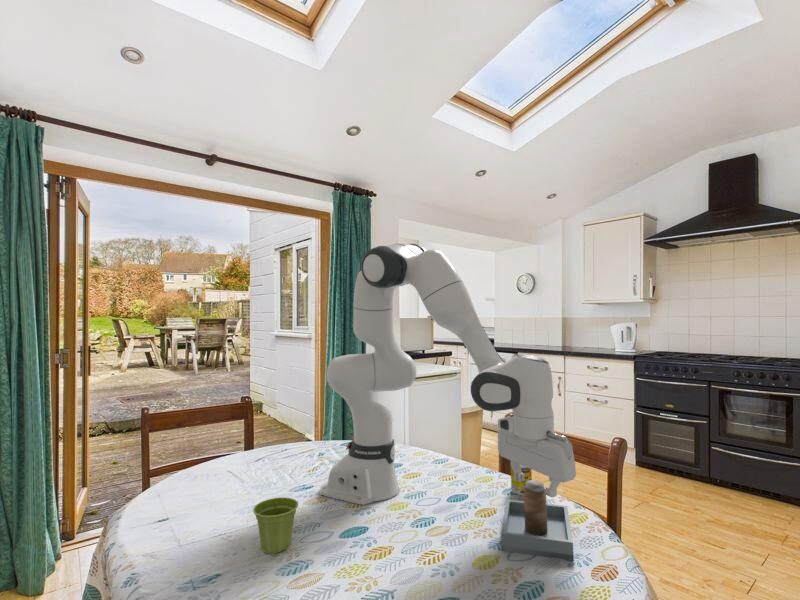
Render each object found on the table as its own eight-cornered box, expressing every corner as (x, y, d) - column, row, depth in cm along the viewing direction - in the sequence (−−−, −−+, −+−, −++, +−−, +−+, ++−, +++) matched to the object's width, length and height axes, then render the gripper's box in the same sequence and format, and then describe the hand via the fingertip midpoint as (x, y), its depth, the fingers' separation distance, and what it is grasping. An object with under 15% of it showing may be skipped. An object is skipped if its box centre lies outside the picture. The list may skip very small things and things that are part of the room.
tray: (501, 550, 89) (501, 533, 89) (507, 513, 105) (506, 499, 105) (573, 560, 85) (572, 542, 85) (567, 521, 101) (567, 506, 101)
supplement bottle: (522, 498, 114) (521, 459, 115) (507, 491, 119) (505, 454, 119) (536, 492, 117) (535, 455, 118) (520, 486, 122) (519, 450, 122)
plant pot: (262, 535, 97) (262, 497, 98) (303, 535, 97) (302, 496, 97) (246, 558, 88) (246, 516, 88) (291, 558, 88) (291, 515, 88)
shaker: (525, 534, 93) (523, 487, 94) (524, 523, 98) (523, 478, 99) (548, 536, 92) (546, 488, 93) (546, 525, 97) (544, 480, 97)
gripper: (581, 435, 89) (583, 502, 89) (511, 415, 107) (513, 470, 107) (561, 440, 86) (562, 510, 86) (492, 418, 104) (493, 475, 104)
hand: (534, 488), depth 96 cm, fingers open, 8 cm apart
